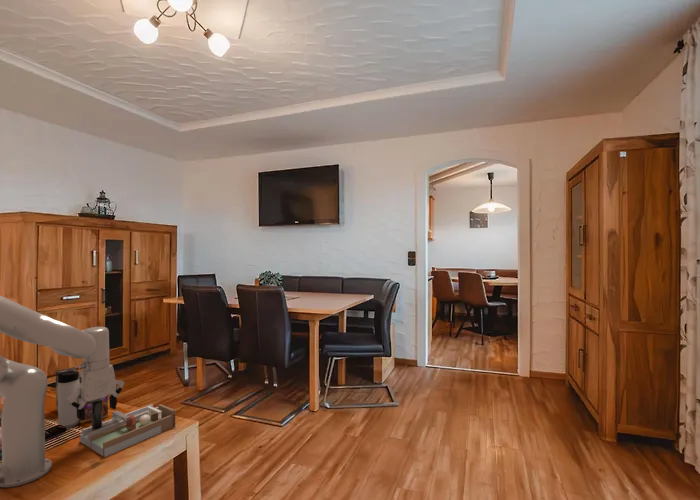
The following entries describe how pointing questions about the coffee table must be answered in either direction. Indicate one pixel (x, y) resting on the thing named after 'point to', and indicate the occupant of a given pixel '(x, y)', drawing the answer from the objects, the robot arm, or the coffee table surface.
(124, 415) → the kicker rod
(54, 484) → the coffee table surface
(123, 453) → the coffee table surface
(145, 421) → the ball
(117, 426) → the pitch board
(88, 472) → the coffee table surface
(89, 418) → the candy box
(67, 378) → the travel mug
